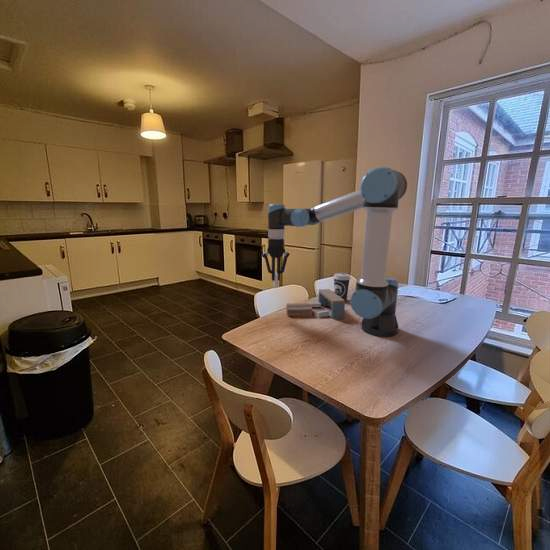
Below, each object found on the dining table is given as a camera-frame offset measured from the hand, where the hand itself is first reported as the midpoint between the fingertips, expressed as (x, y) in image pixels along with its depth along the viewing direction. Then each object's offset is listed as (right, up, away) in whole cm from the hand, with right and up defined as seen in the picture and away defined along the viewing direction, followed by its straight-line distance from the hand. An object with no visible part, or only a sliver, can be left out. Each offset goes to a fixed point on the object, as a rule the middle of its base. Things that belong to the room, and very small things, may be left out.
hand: (275, 286), depth 141 cm
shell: (+12, -14, +5) cm, 19 cm away
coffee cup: (+37, -9, +26) cm, 46 cm away
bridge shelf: (+24, -13, +7) cm, 28 cm away
